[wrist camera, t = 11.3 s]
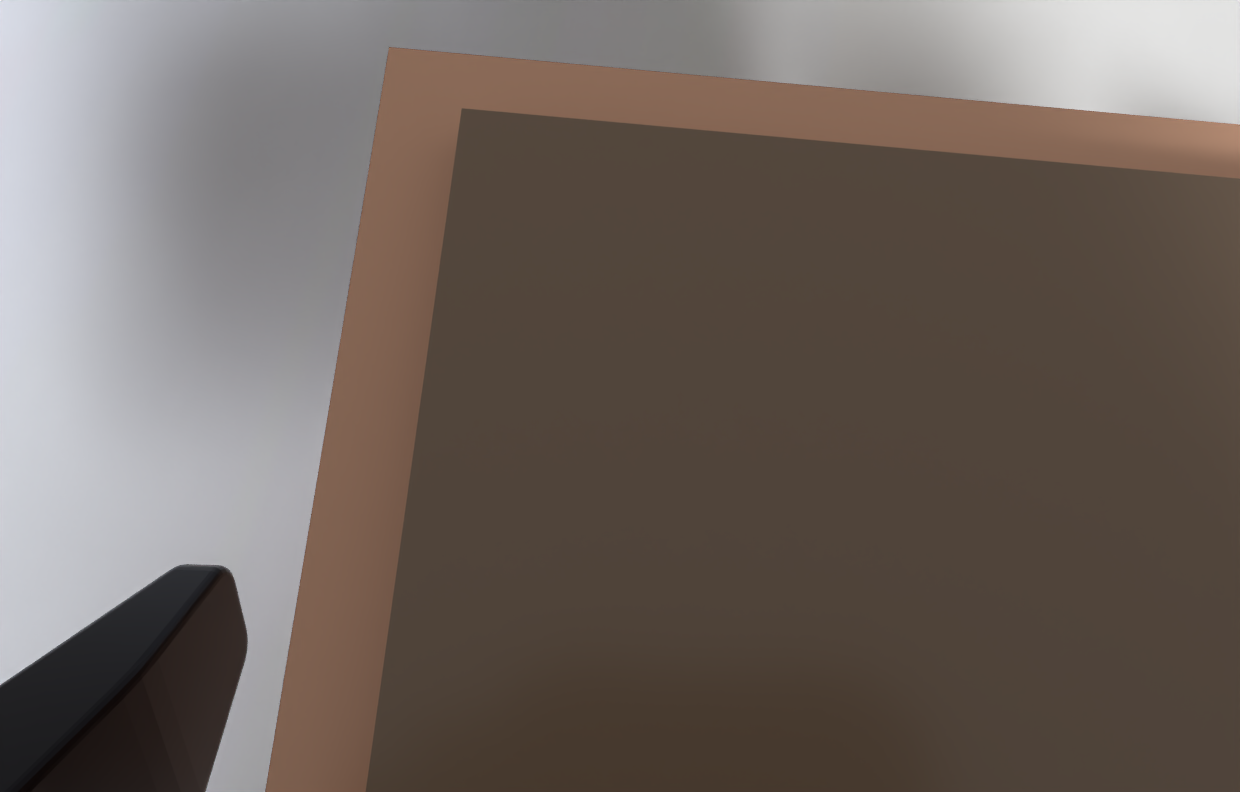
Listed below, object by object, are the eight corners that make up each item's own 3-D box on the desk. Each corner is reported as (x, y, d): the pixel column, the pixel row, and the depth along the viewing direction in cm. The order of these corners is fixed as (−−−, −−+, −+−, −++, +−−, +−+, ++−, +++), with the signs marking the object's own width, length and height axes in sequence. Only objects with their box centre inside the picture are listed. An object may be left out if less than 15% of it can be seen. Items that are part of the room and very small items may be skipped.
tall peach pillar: (812, 792, 16) (1845, 1655, 3) (508, 768, 16) (115, 1537, 3) (820, 489, 17) (1544, 121, 4) (541, 466, 17) (376, 14, 4)
